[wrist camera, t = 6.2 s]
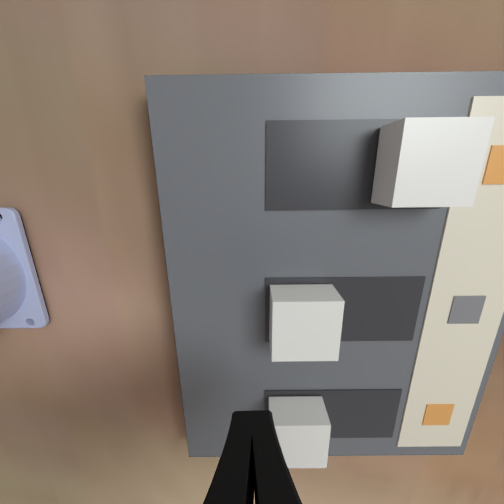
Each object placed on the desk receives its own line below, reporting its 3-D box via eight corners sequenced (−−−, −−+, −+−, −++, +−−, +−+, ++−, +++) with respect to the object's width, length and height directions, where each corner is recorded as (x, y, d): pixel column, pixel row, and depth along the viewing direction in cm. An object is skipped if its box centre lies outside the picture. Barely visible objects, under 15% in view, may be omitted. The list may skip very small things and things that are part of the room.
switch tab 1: (269, 338, 15) (271, 361, 13) (269, 284, 14) (272, 301, 12) (327, 337, 15) (338, 361, 13) (332, 284, 14) (344, 301, 12)
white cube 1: (268, 436, 17) (270, 468, 16) (268, 396, 16) (270, 425, 15) (318, 435, 17) (326, 467, 16) (321, 396, 16) (331, 425, 15)
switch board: (195, 430, 20) (188, 459, 18) (160, 90, 13) (142, 74, 11) (443, 428, 20) (465, 457, 18) (540, 85, 13) (594, 68, 11)
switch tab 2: (370, 202, 13) (391, 207, 11) (380, 127, 12) (405, 117, 10) (439, 202, 13) (472, 206, 11) (455, 126, 12) (494, 116, 10)
